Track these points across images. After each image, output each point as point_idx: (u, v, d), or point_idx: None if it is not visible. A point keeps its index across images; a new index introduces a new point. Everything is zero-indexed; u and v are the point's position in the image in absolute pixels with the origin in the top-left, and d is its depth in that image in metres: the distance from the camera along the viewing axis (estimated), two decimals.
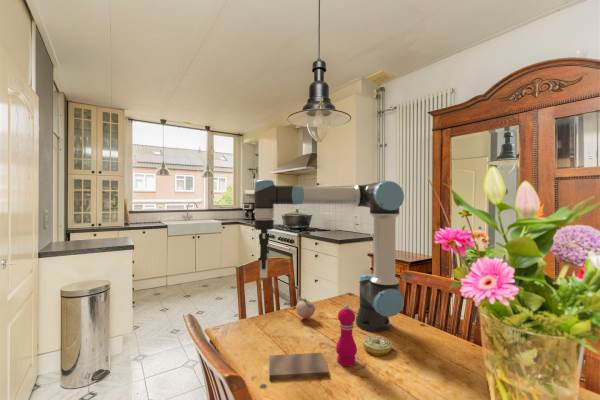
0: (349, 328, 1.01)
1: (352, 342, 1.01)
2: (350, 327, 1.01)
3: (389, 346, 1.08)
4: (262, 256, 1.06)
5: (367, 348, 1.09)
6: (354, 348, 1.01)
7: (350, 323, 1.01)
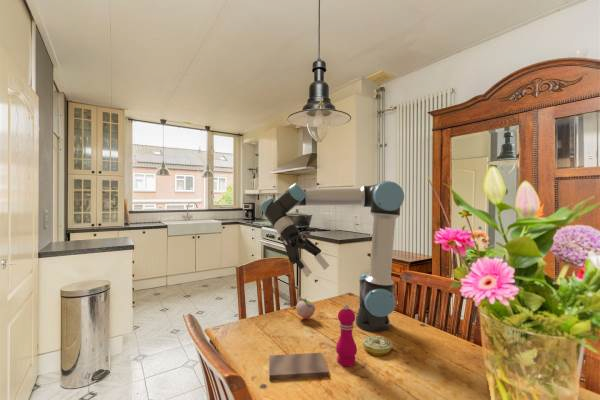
0: (349, 328, 1.01)
1: (352, 342, 1.01)
2: (350, 327, 1.01)
3: (389, 346, 1.08)
4: (290, 258, 1.08)
5: (367, 348, 1.09)
6: (354, 348, 1.01)
7: (350, 323, 1.01)
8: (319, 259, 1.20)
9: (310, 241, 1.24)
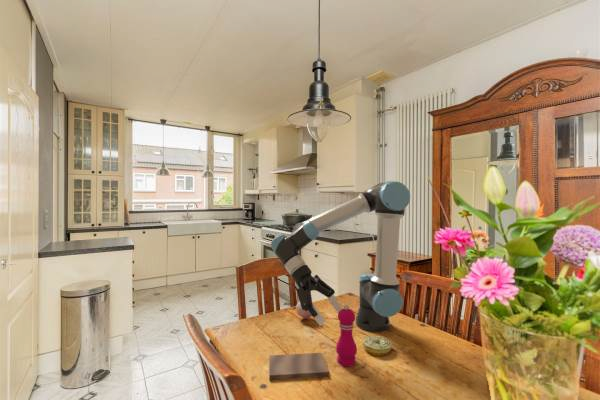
0: (349, 328, 1.01)
1: (352, 342, 1.01)
2: (350, 327, 1.01)
3: (389, 346, 1.08)
4: (303, 306, 1.01)
5: (367, 348, 1.09)
6: (354, 348, 1.01)
7: (350, 323, 1.01)
8: (332, 302, 1.13)
9: (323, 281, 1.16)
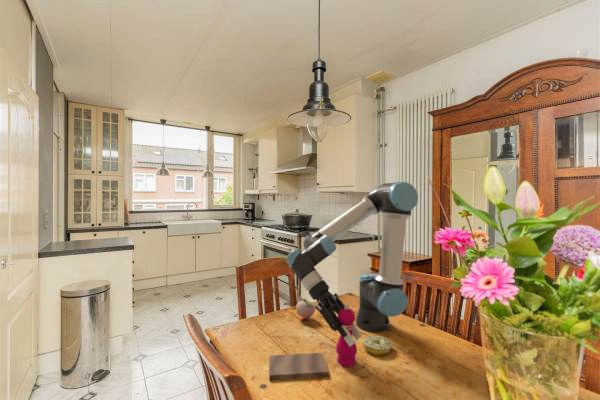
0: (349, 328, 1.01)
1: None
2: (350, 327, 1.01)
3: (389, 346, 1.08)
4: (332, 326, 1.00)
5: (367, 348, 1.09)
6: (354, 348, 1.01)
7: (350, 323, 1.01)
8: None
9: (341, 301, 1.11)
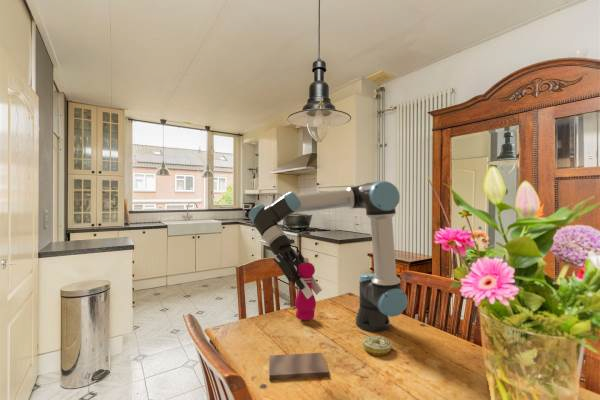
0: (308, 281, 0.98)
1: None
2: (309, 280, 0.98)
3: (389, 346, 1.08)
4: (289, 278, 0.97)
5: (367, 348, 1.09)
6: (312, 301, 0.98)
7: (309, 276, 0.98)
8: None
9: (303, 258, 1.08)
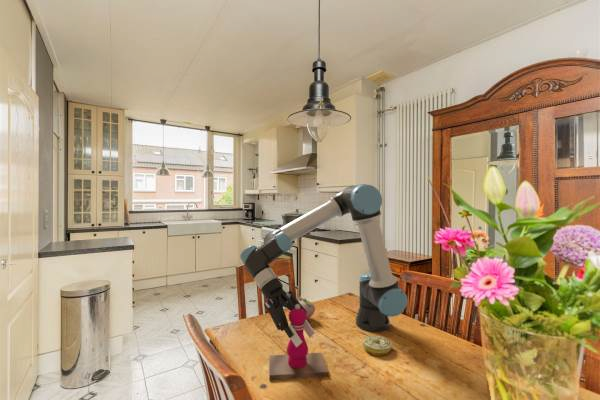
0: (299, 328, 0.97)
1: (302, 343, 0.98)
2: (300, 327, 0.97)
3: (389, 346, 1.08)
4: (278, 325, 0.95)
5: (367, 348, 1.09)
6: (304, 349, 0.97)
7: (300, 323, 0.97)
8: None
9: (296, 299, 1.08)
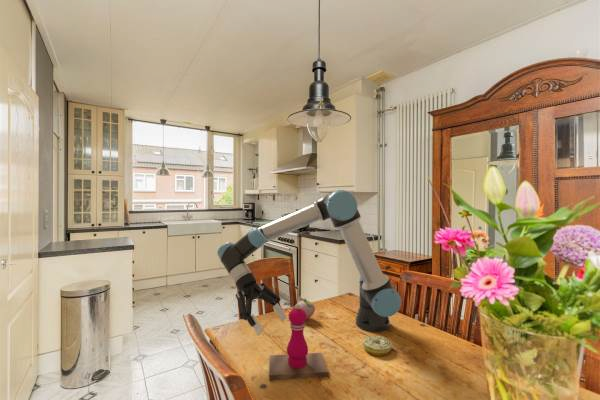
0: (299, 328, 0.97)
1: (302, 343, 0.98)
2: (300, 327, 0.97)
3: (389, 346, 1.08)
4: (241, 315, 1.01)
5: (367, 348, 1.09)
6: (304, 349, 0.97)
7: (300, 323, 0.97)
8: (277, 310, 1.12)
9: (269, 289, 1.16)
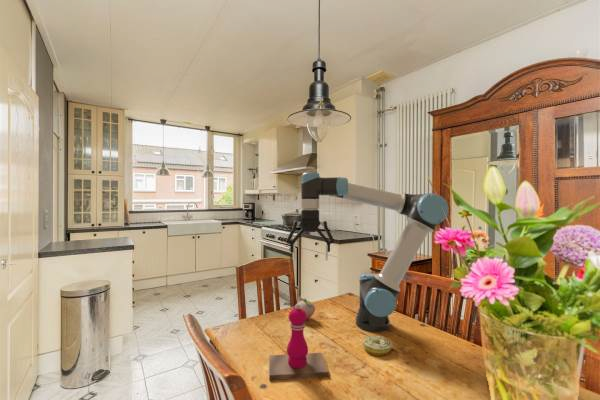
0: (299, 328, 0.97)
1: (302, 343, 0.98)
2: (300, 327, 0.97)
3: (389, 346, 1.08)
4: (286, 240, 1.23)
5: (367, 348, 1.09)
6: (304, 349, 0.97)
7: (300, 323, 0.97)
8: (325, 249, 1.24)
9: (328, 229, 1.23)
